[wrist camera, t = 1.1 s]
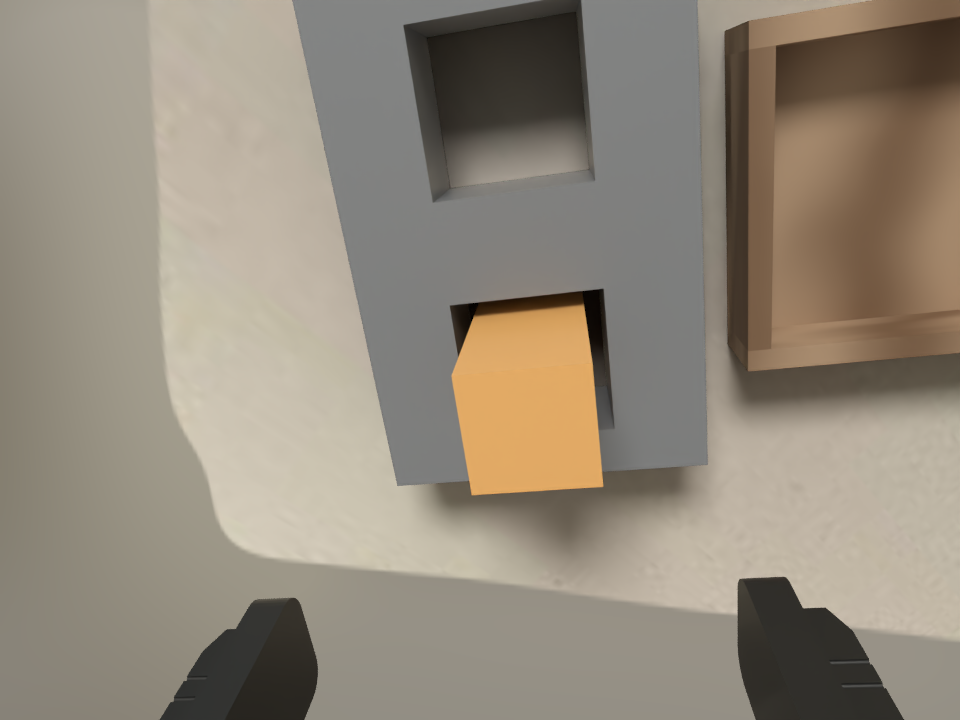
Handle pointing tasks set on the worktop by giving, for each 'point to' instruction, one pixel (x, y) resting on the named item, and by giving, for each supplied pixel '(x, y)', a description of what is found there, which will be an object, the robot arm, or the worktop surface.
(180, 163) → the worktop surface
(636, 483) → the worktop surface
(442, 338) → the cinder block
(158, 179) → the worktop surface
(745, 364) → the tray
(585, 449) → the plug
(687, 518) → the worktop surface
